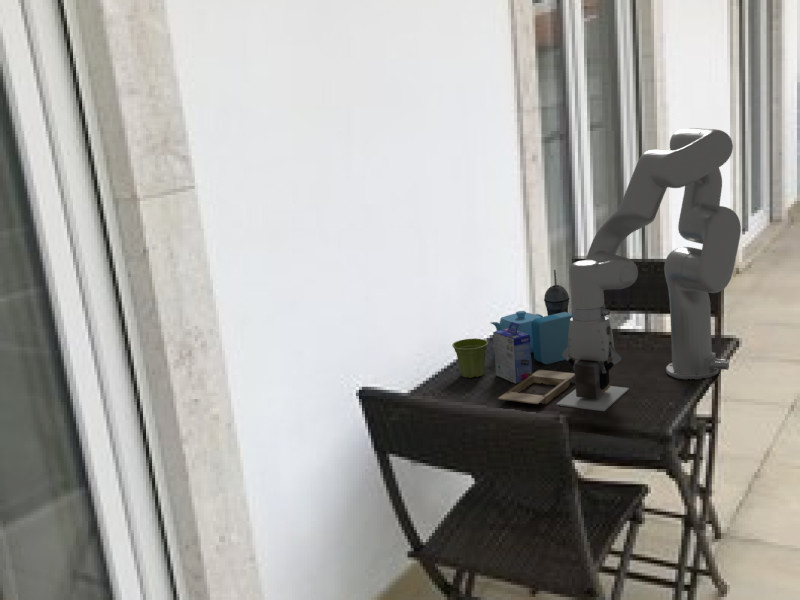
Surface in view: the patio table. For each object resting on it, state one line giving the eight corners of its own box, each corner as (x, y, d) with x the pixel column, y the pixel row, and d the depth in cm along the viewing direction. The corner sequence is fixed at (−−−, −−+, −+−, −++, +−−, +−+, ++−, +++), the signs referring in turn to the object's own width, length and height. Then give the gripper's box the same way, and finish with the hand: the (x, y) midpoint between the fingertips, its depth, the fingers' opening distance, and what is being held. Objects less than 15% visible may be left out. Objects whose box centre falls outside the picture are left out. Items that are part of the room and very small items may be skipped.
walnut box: (609, 387, 233) (608, 355, 231) (596, 399, 227) (594, 366, 225) (590, 385, 236) (588, 354, 234) (576, 396, 230) (574, 364, 228)
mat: (629, 389, 234) (628, 388, 234) (604, 411, 222) (604, 409, 222) (583, 384, 241) (583, 382, 241) (556, 405, 229) (556, 403, 229)
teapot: (481, 354, 273) (477, 315, 271) (532, 340, 282) (529, 302, 279) (506, 364, 263) (503, 323, 260) (559, 348, 271) (556, 309, 268)
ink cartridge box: (534, 379, 248) (530, 325, 245) (516, 384, 246) (512, 330, 242) (512, 370, 257) (508, 318, 253) (495, 375, 255) (490, 323, 251)
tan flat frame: (577, 380, 244) (576, 373, 244) (538, 410, 227) (537, 403, 227) (539, 376, 250) (538, 369, 250) (498, 404, 233) (498, 397, 233)
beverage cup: (546, 341, 278) (541, 274, 273) (546, 334, 285) (542, 268, 280) (572, 340, 277) (567, 272, 272) (571, 333, 284) (567, 266, 279)
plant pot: (467, 367, 264) (464, 336, 262) (497, 370, 258) (494, 339, 256) (448, 378, 257) (445, 347, 255) (479, 382, 251) (476, 350, 249)
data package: (571, 352, 267) (569, 310, 264) (580, 356, 262) (578, 314, 260) (533, 361, 262) (530, 319, 260) (542, 365, 258) (539, 322, 255)
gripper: (629, 311, 225) (633, 384, 229) (562, 306, 234) (567, 377, 239) (616, 320, 219) (620, 395, 223) (548, 315, 229) (553, 387, 233)
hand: (593, 385), depth 231 cm, fingers closed on walnut box, 5 cm apart
